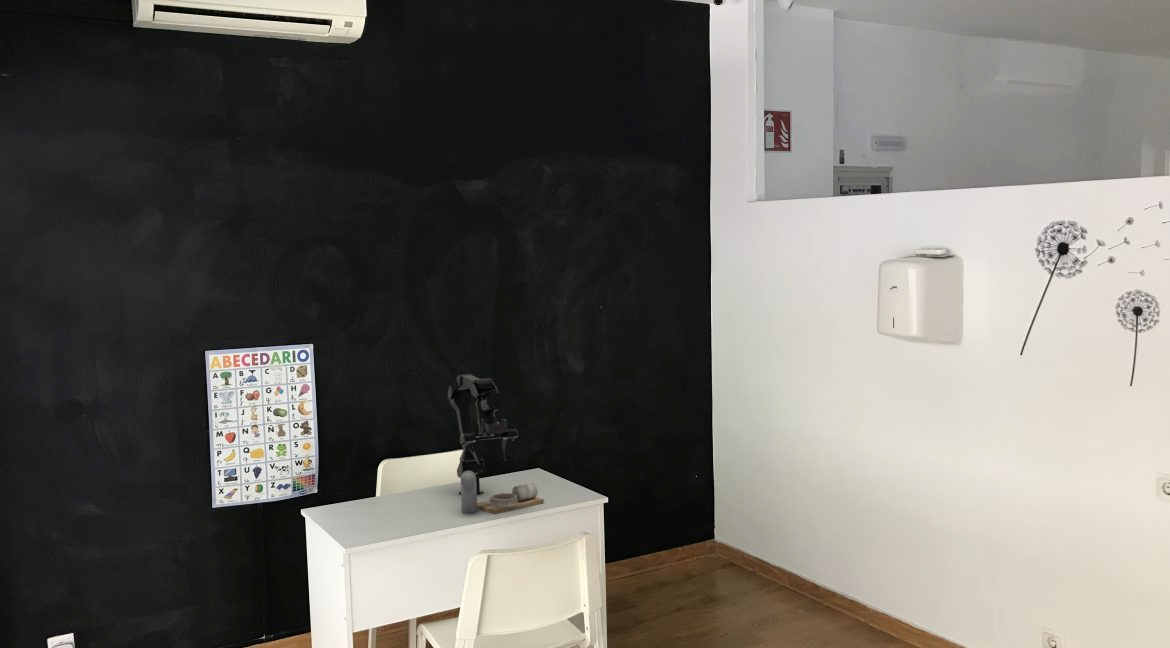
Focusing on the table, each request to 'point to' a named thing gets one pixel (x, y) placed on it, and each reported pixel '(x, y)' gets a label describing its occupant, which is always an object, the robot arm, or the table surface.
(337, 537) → the table surface
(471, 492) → the elbow
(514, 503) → the board
